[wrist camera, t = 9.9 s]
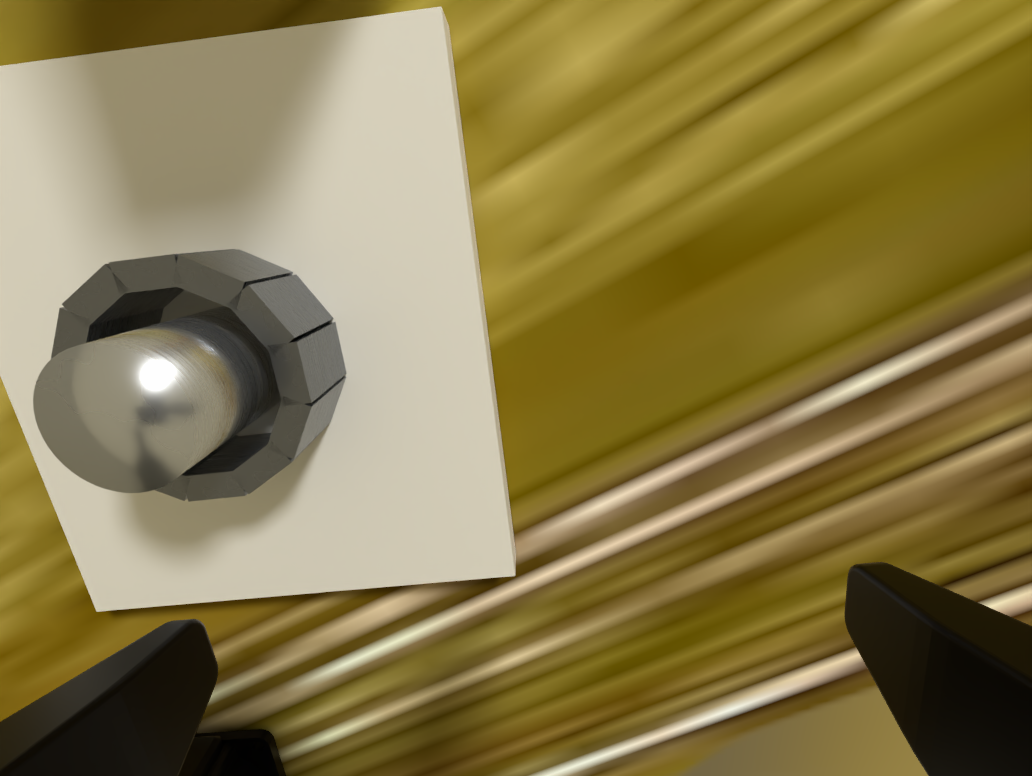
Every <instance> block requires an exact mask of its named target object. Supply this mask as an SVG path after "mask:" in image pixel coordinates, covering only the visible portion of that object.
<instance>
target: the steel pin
mask: <svg viewBox="0 0 1032 776" xmlns="http://www.w3.org/2000/svg"><path fill="white" fill-rule="evenodd" d="M279 402H281V397H280V393H279V389H278V385H277V381H276V377H275V374H274V370H273V366H272V362H271V358H270V354H269V351H268V350H267V349H266V347H265V346H264V345H263V344H262V343H261V342H260V341H259V340H258V339H257V337H256V336H255V335H254V334H253V333H252V332H251V331H250V330H249V329H248V327H247V326H246V325H245V324H244V323H243V322H242V321H241V320H240V319H239V317H238V316H237V315H236V314H235V313H234V312H233V311H232V310H231V309H230V308H228V307H225V306H222V307H217V308H213V309H209V310H206V311H202V312H198V313H195V314H191V315H187V316H184V317H180V318H176V319H173V320H169V321H165V322H162V323H158V324H154V325H151V326H147V327H143V328H139V329H136V330H132V331H128V332H125V333H121V334H117V335H114V336H110V337H106V338H103V339H99V340H95V341H92V342H88V343H84V344H81V345H77V346H74V347H71V348H68V349H66V350H64V351H62V352H60V353H59V354H57V355H56V356H54V357H53V358H52V359H51V360H50V361H49V362H48V363H47V364H46V365H45V366H44V368H43V369H42V371H41V372H40V374H39V377H38V379H37V381H36V385H35V388H34V395H33V409H34V415H35V420H36V423H37V426H38V429H39V431H40V433H41V435H42V438H43V439H44V441H45V443H46V444H47V446H48V448H49V449H50V450H51V451H52V453H53V454H54V455H55V457H56V458H57V459H58V460H59V461H60V462H61V463H62V464H63V465H64V466H66V467H67V468H68V469H69V470H70V471H71V472H73V473H74V474H76V475H77V476H79V477H80V478H82V479H84V480H85V481H87V482H89V483H91V484H94V485H96V486H98V487H101V488H104V489H107V490H111V491H116V492H122V493H142V492H148V491H152V490H155V489H159V488H161V487H163V486H165V485H167V484H169V483H170V482H172V481H173V480H175V479H176V478H177V477H179V476H180V475H181V474H183V473H184V472H185V471H187V470H188V469H190V468H191V467H192V466H194V465H195V464H196V463H198V462H199V461H201V460H202V459H203V458H205V457H206V456H207V455H209V454H210V453H211V452H213V451H214V450H216V449H217V448H218V447H220V446H221V445H222V444H224V443H225V442H227V441H228V440H229V439H231V438H232V437H233V436H235V435H236V434H237V433H239V432H240V431H242V430H243V429H244V428H246V427H247V426H248V425H250V424H251V423H252V422H254V421H255V420H257V419H258V418H259V417H261V416H262V415H263V414H265V413H266V412H268V411H269V410H270V409H272V408H273V407H274V406H276V405H277V404H278V403H279Z"/></svg>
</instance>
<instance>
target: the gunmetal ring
mask: <svg viewBox="0 0 1032 776" xmlns="http://www.w3.org/2000/svg"><path fill="white" fill-rule="evenodd" d="M292 274H293V272H292V271H290V270H287V269H285V268H283V267H280V266H278V265H275V264H273V263H271V262H268V261H266V260H263V259H261V258H259V257H256V256H254V255H252V254H249V253H247V252H244V251H242V250H240V249H238V250H236V249H227V250H216V251H204V252H192V253H181V254H170V255H162V256H154V257H146V258H138V259H130V260H122V261H114V262H109V264H104V265H103V266H102V267H101V268H100V269H99V270H98V271H97V272H96V273H95V274H93V275H92V276H91V277H90V278H89V279H88V280H87V281H86V282H85V283H84V284H83V285H82V286H81V287H79V288H78V289H77V290H76V291H75V292H74V293H73V294H72V295H71V296H70V297H69V298H68V299H67V300H65V301H64V302H63V303H62V305H63V306H64V307H61V308H59V314H58V320H57V326H56V331H55V337H54V343H53V349H52V354H51V359H52V358H53V357H54V356H56V355H57V354H59V353H60V352H62V351H64V350H66V349H68V348H71V347H74V346H77V345H81V344H84V343H88V342H92V341H95V340H99V339H103V338H106V337H110V336H114V335H117V334H121V333H125V332H128V331H132V330H136V329H139V328H143V327H147V326H151V325H154V324H158V323H160V322H161V318H162V313H163V309H164V307H165V306H167V305H168V304H169V303H170V302H171V301H172V300H173V299H175V298H176V297H177V296H178V295H179V294H180V293H181V292H183V291H184V290H186V291H189V292H191V293H194V294H196V295H198V296H201V297H203V298H206V299H208V300H211V301H213V302H216V303H218V304H221V305H223V306H225V307H228V308H230V309H231V310H232V311H233V312H234V313H235V314H236V315H237V316H238V317H239V319H240V320H241V321H242V322H243V323H244V324H245V325H246V326H247V327H248V329H249V330H250V331H251V332H252V333H253V334H254V335H255V336H256V337H257V339H258V340H259V341H260V342H261V343H262V344H263V345H264V346H265V347H266V349H267V350H268V351H269V354H270V358H271V362H272V366H273V370H274V374H275V377H276V381H277V385H278V389H279V393H280V397H281V404H280V407H279V410H278V414H277V417H276V420H275V423H274V426H273V429H272V433H263V434H254V435H245V436H238V435H235V436H233V437H232V438H231V439H229V440H228V441H227V442H225V443H224V444H222V445H221V446H220V447H218V448H217V449H216V450H214V451H213V452H211V453H210V454H209V455H207V456H206V457H205V458H203V459H202V460H201V461H199V462H198V463H196V464H195V465H194V466H192V467H191V468H190V469H188V470H187V471H185V472H184V473H183V474H181V475H180V476H179V477H177V478H176V479H175V480H173V481H172V482H170V483H169V484H167V485H165V486H163V487H161V488H159V489H155V491H158V492H161V493H164V494H166V495H169V496H172V497H175V498H177V499H180V500H183V501H185V500H186V499H188V502H190V501H200V500H209V499H219V498H229V497H239V496H246V495H247V494H250V493H252V492H253V491H254V490H256V489H257V488H258V487H260V486H261V485H262V484H264V483H265V482H266V481H268V480H269V479H270V478H272V477H273V476H274V475H276V474H277V473H278V472H280V471H281V470H282V469H284V468H285V467H286V466H288V465H289V464H290V463H292V462H293V461H294V460H295V459H296V458H297V457H298V456H299V454H300V453H301V452H302V451H303V450H304V449H305V448H306V447H307V446H308V445H309V444H310V443H311V442H312V441H313V440H314V439H315V438H316V437H317V436H318V435H319V434H320V433H321V432H322V431H323V430H324V429H325V428H326V427H327V426H328V425H329V423H330V422H331V420H332V417H333V414H334V411H335V408H336V405H337V403H338V400H339V397H340V394H341V391H342V388H343V385H344V382H345V380H346V376H344V375H345V374H346V368H345V363H344V359H343V354H342V350H341V345H340V341H339V336H338V331H337V327H336V322H330V321H331V320H332V319H334V318H333V317H332V316H331V315H330V313H329V312H328V311H327V310H326V309H325V308H324V306H323V305H322V304H321V303H320V302H319V300H318V299H317V298H316V297H315V296H314V295H313V293H312V292H311V291H310V290H309V289H308V287H307V286H306V285H305V284H304V283H303V282H302V280H301V279H300V278H299V277H298V276H297V274H296V275H292ZM329 322H330V323H329Z"/></svg>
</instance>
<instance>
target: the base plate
mask: <svg viewBox="0 0 1032 776" xmlns="http://www.w3.org/2000/svg"><path fill="white" fill-rule="evenodd" d="M227 249H236V250H238V249H240V250H242V251H244V252H247V253H249V254H252V255H254V256H256V257H259V258H261V259H263V260H266V261H268V262H271V263H273V264H275V265H278V266H280V267H283V268H285V269H287V270H290V271H292V272H293V274H292V275H296V274H297V276H298V277H299V278H300V279H301V280H302V282H303V283H304V284H305V285H306V286H307V287H308V289H309V290H310V291H311V292H312V293H313V295H314V296H315V297H316V298H317V299H318V300H319V302H320V303H321V304H322V305H323V306H324V308H325V309H326V310H327V311H328V312H329V313H330V315H331V316H332V317H333V318H334V319H332V320H331V321H330V322H336V327H337V331H338V336H339V341H340V345H341V350H342V354H343V359H344V363H345V368H346V374H345V375H344V376H346V380H345V382H344V385H343V388H342V391H341V394H340V397H339V400H338V403H337V405H336V408H335V411H334V414H333V417H332V420H331V422H330V423H329V425H328V426H327V427H326V428H325V429H324V430H323V431H322V432H321V433H320V434H319V435H318V436H317V437H316V438H315V439H314V440H313V441H312V442H311V443H310V444H309V445H308V446H307V447H306V448H305V449H304V450H303V451H302V452H301V453H300V454H299V456H298V457H297V458H296V459H295V460H294V461H293V462H292V463H290V464H289V465H288V466H286V467H285V468H284V469H282V470H281V471H280V472H278V473H277V474H276V475H274V476H273V477H272V478H270V479H269V480H268V481H266V482H265V483H264V484H262V485H261V486H260V487H258V488H257V489H256V490H254V491H253V492H252V493H250V494H247V495H246V496H239V497H229V498H219V499H209V500H200V501H190V502H188V499H186V500H185V501H183V500H180V499H177V498H175V497H172V496H169V495H166V494H164V493H161V492H158V491H155V490H152V491H148V492H142V493H122V492H116V491H111V490H107V489H104V488H101V487H98V486H96V485H94V484H91V483H89V482H87V481H85V480H84V479H82V478H80V477H79V476H77V475H76V474H74V473H73V472H71V471H70V470H69V469H68V468H67V467H66V466H64V465H63V464H62V463H61V462H60V461H59V460H58V459H57V458H56V457H55V455H54V454H53V453H52V451H51V450H50V449H49V448H48V446H47V444H46V443H45V441H44V439H43V438H42V435H41V433H40V431H39V429H38V426H37V423H36V420H35V415H34V409H33V395H34V388H35V385H36V381H37V379H38V377H39V374H40V372H41V371H42V369H43V368H44V366H45V365H46V364H47V363H48V362H49V361H50V360H51V354H52V349H53V343H54V337H55V331H56V326H57V320H58V314H59V308H61V307H64V306H63V305H62V303H63V302H64V301H65V300H67V299H68V298H69V297H70V296H71V295H72V294H73V293H74V292H75V291H76V290H77V289H78V288H79V287H81V286H82V285H83V284H84V283H85V282H86V281H87V280H88V279H89V278H90V277H91V276H92V275H93V274H95V273H96V272H97V271H98V270H99V269H100V268H101V267H102V266H103V265H104V264H109V262H114V261H122V260H130V259H138V258H146V257H154V256H162V255H170V254H181V253H192V252H204V251H216V250H227ZM222 306H223V305H221V304H218V303H216V302H213V301H211V300H208V299H206V298H203V297H201V296H198V295H196V294H194V293H191V292H189V291H186V290H184V291H183V292H181V293H180V294H179V295H178V296H177V297H176V298H175V299H173V300H172V301H171V302H170V303H169V304H168V305H167V306H165V307H164V309H163V313H162V318H161V322H160V323H162V322H165V321H169V320H173V319H176V318H180V317H184V316H187V315H191V314H195V313H198V312H202V311H206V310H209V309H213V308H217V307H222ZM330 322H329V323H330ZM0 376H1V379H2V381H3V384H4V386H5V388H6V391H7V393H8V396H9V398H10V401H11V403H12V406H13V408H14V411H15V413H16V415H17V418H18V420H19V423H20V425H21V428H22V430H23V433H24V435H25V437H26V440H27V442H28V445H29V447H30V450H31V452H32V455H33V457H34V459H35V462H36V464H37V467H38V469H39V472H40V474H41V477H42V479H43V481H44V484H45V486H46V489H47V491H48V494H49V496H50V499H51V501H52V503H53V506H54V508H55V511H56V513H57V516H58V518H59V521H60V523H61V525H62V528H63V530H64V533H65V535H66V538H67V540H68V543H69V545H70V547H71V550H72V552H73V555H74V557H75V560H76V562H77V565H78V567H79V569H80V572H81V574H82V577H83V579H84V582H85V584H86V587H87V589H88V592H89V594H90V596H91V599H92V601H93V604H94V606H95V609H96V611H97V612H99V611H110V610H122V609H134V608H146V607H157V606H169V605H181V604H192V603H204V602H216V601H227V600H239V599H251V598H263V597H274V596H286V595H298V594H309V593H321V592H333V591H344V590H356V589H368V588H380V587H391V586H403V585H415V584H426V583H438V582H450V581H461V580H473V579H485V578H497V577H508V576H515V565H516V549H515V541H514V534H513V526H512V518H511V510H510V502H509V494H508V487H507V479H506V471H505V463H504V455H503V447H502V440H501V432H500V424H499V416H498V408H497V400H496V392H495V385H494V377H493V369H492V361H491V353H490V345H489V338H488V330H487V322H486V314H485V306H484V298H483V291H482V283H481V275H480V267H479V259H478V251H477V243H476V236H475V228H474V220H473V212H472V204H471V196H470V189H469V181H468V173H467V165H466V157H465V149H464V142H463V134H462V126H461V118H460V110H459V102H458V94H457V87H456V79H455V71H454V63H453V55H452V47H451V40H450V32H449V26H448V23H447V20H446V18H445V15H444V12H443V10H442V7H435V8H427V9H420V10H413V11H405V12H398V13H390V14H383V15H375V16H368V17H361V18H353V19H346V20H338V21H331V22H324V23H316V24H309V25H301V26H294V27H287V28H279V29H272V30H264V31H257V32H249V33H242V34H235V35H227V36H220V37H212V38H205V39H198V40H190V41H183V42H175V43H168V44H160V45H153V46H146V47H138V48H131V49H123V50H116V51H109V52H101V53H94V54H86V55H79V56H72V57H64V58H57V59H49V60H42V61H34V62H27V63H20V64H12V65H5V66H0ZM280 404H281V402H279V403H278V404H277V405H276V406H274V407H273V408H272V409H270V410H269V411H268V412H266V413H265V414H263V415H262V416H261V417H259V418H258V419H257V420H255V421H254V422H252V423H251V424H250V425H248V426H247V427H246V428H244V429H243V430H242V431H240V432H239V433H237V434H236V435H238V436H245V435H254V434H263V433H272V429H273V426H274V423H275V420H276V417H277V414H278V410H279V407H280Z"/></svg>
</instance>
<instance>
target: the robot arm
mask: <svg viewBox="0 0 1032 776" xmlns="http://www.w3.org/2000/svg"><path fill="white" fill-rule="evenodd" d="M845 623H846V626H847V629H848V632H849V634H850V636H851V638H852V640H853V642H854V644H855V646H856V648H857V649H858V651H859V653H860V655H861V657H862V659H863V661H864V662H865V664H866V666H867V668H868V670H869V672H870V673H871V675H872V677H873V679H874V681H875V683H876V685H877V686H878V688H879V690H880V692H881V694H882V696H883V698H884V699H885V701H886V703H887V705H888V707H889V709H890V711H891V712H892V714H893V716H894V718H895V720H896V722H897V724H898V725H899V727H900V729H901V731H902V733H903V734H904V736H905V738H906V739H907V741H908V743H909V745H910V747H911V748H912V750H913V752H914V754H915V755H916V757H917V758H918V760H919V761H920V763H921V764H922V766H923V767H924V769H925V771H926V772H927V774H928V775H929V776H1032V626H1030V625H1028V624H1025V623H1023V622H1021V621H1019V620H1016V619H1014V618H1012V617H1009V616H1007V615H1005V614H1003V613H1000V612H998V611H996V610H993V609H991V608H989V607H986V606H984V605H982V604H980V603H977V602H975V601H973V600H970V599H968V598H966V597H964V596H961V595H959V594H957V593H954V592H952V591H950V590H948V589H945V588H943V587H941V586H938V585H936V584H934V583H932V582H929V581H927V580H925V579H922V578H920V577H918V576H916V575H913V574H911V573H909V572H906V571H904V570H902V569H900V568H897V567H895V566H893V565H890V564H888V563H884V562H876V563H864V564H856V565H854V566H852V567H851V568H850V570H849V573H848V580H847V591H846V603H845ZM217 677H218V664H217V661H216V658H215V655H214V652H213V649H212V646H211V643H210V640H209V637H208V634H207V631H206V628H205V626H204V624H203V623H202V622H201V621H199V620H196V619H190V620H178V621H170V622H167V623H165V624H163V625H162V626H160V627H158V628H157V629H155V630H153V631H152V632H150V633H148V634H147V635H145V636H143V637H141V638H140V639H138V640H136V641H135V642H133V643H131V644H130V645H128V646H126V647H125V648H123V649H121V650H120V651H118V652H116V653H115V654H113V655H111V656H110V657H108V658H106V659H105V660H103V661H101V662H100V663H98V664H96V665H95V666H93V667H91V668H90V669H88V670H86V671H85V672H83V673H81V674H80V675H78V676H76V677H75V678H73V679H71V680H70V681H68V682H66V683H65V684H63V685H61V686H59V687H58V688H56V689H54V690H53V691H51V692H49V693H48V694H46V695H44V696H43V697H41V698H39V699H38V700H36V701H34V702H33V703H31V704H29V705H28V706H26V707H24V708H23V709H21V710H19V711H18V712H16V713H14V714H13V715H11V716H9V717H8V718H6V719H4V720H3V721H1V722H0V776H286V775H285V772H284V768H283V765H282V762H281V759H280V756H279V753H278V750H277V746H276V743H275V740H274V737H273V735H272V734H271V733H270V732H269V731H266V730H261V729H258V730H245V731H231V732H218V733H204V734H196V731H197V729H198V726H199V724H200V722H201V719H202V717H203V714H204V712H205V709H206V707H207V704H208V702H209V699H210V697H211V695H212V692H213V690H214V687H215V684H216V681H217Z"/></svg>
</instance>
